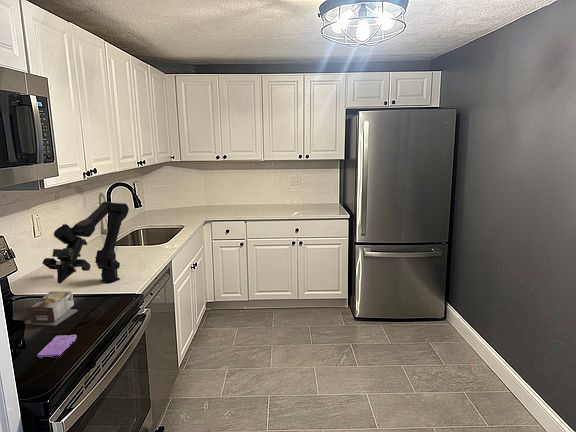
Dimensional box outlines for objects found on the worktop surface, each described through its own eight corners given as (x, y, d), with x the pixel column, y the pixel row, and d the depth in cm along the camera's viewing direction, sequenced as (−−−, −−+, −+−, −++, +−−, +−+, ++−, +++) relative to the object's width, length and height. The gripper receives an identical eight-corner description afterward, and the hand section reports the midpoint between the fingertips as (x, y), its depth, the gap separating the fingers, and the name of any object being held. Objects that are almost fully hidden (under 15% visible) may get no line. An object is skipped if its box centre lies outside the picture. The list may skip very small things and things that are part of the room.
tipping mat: (48, 309, 170) (48, 307, 170) (77, 310, 168) (77, 309, 168) (24, 323, 158) (24, 322, 158) (55, 325, 156) (55, 324, 156)
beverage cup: (56, 274, 211) (52, 248, 208) (68, 274, 211) (65, 247, 208) (50, 278, 205) (46, 251, 202) (63, 278, 205) (59, 251, 202)
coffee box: (52, 305, 172) (29, 323, 157) (50, 291, 171) (27, 307, 155) (74, 305, 172) (54, 322, 157) (72, 290, 171) (52, 307, 155)
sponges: (77, 339, 146) (76, 334, 146) (59, 358, 134) (59, 353, 134) (57, 340, 146) (56, 335, 146) (37, 359, 134) (36, 354, 134)
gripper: (42, 239, 173) (25, 273, 165) (83, 240, 170) (68, 275, 162) (57, 252, 182) (42, 285, 174) (96, 253, 179) (83, 287, 171)
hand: (58, 283), depth 170 cm, fingers closed
